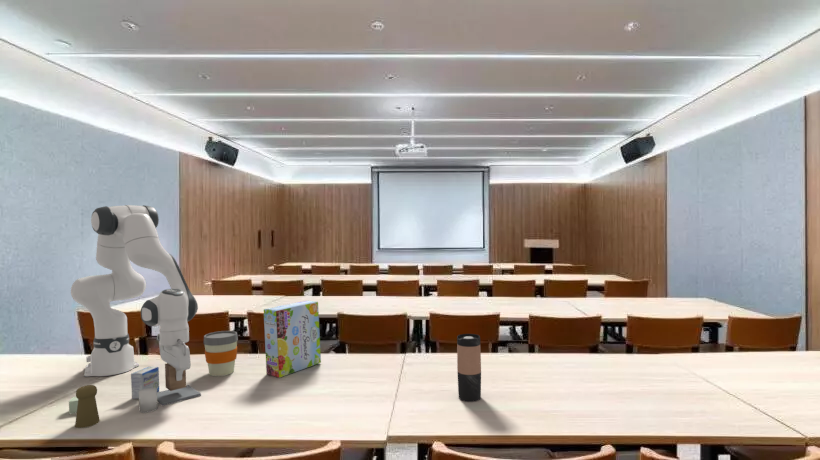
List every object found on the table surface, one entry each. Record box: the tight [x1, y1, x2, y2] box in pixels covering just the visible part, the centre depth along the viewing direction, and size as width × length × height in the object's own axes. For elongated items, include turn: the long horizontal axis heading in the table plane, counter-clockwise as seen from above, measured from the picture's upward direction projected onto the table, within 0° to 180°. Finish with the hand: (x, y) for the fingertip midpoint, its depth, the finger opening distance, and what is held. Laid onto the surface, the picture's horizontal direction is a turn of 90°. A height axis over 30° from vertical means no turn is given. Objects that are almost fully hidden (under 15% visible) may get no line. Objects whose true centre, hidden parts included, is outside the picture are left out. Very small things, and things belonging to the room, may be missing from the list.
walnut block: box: [164, 363, 187, 391], centre depth 159 cm, size 5×5×8 cm
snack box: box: [263, 300, 322, 379], centre depth 186 cm, size 22×9×26 cm, turn 144°
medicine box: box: [130, 366, 160, 400], centre depth 161 cm, size 8×4×9 cm, turn 168°
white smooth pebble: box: [138, 388, 158, 414], centre depth 148 cm, size 5×5×6 cm
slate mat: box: [157, 384, 202, 406], centre depth 159 cm, size 12×12×1 cm
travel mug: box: [456, 333, 482, 403], centre depth 152 cm, size 8×8×20 cm
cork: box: [74, 384, 101, 429], centre depth 138 cm, size 6×6×11 cm
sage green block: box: [68, 396, 78, 415], centre depth 148 cm, size 4×6×4 cm, turn 114°
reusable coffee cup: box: [203, 330, 239, 377], centre depth 184 cm, size 13×13×15 cm
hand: (175, 378), depth 159 cm, fingers closed on walnut block, 5 cm apart
